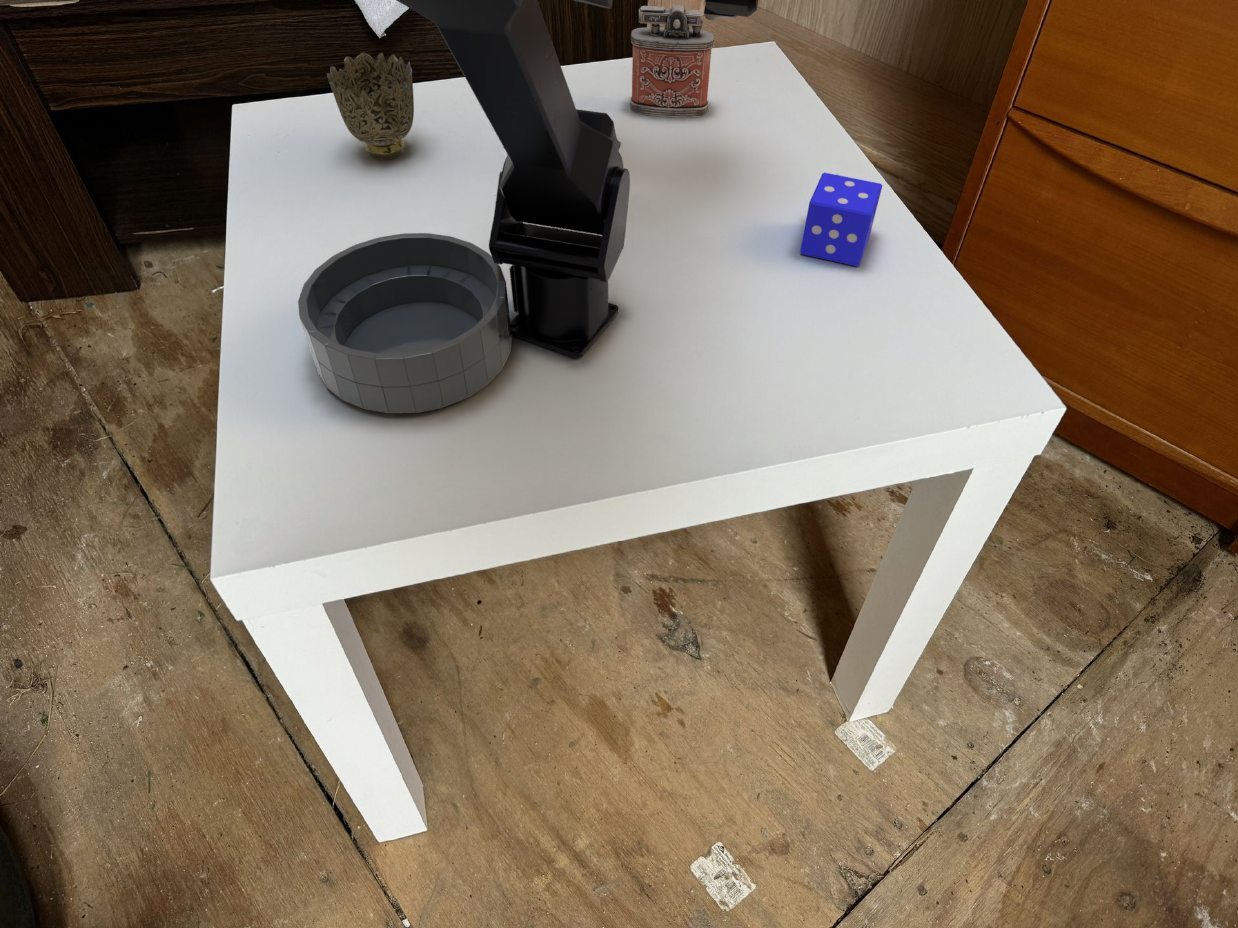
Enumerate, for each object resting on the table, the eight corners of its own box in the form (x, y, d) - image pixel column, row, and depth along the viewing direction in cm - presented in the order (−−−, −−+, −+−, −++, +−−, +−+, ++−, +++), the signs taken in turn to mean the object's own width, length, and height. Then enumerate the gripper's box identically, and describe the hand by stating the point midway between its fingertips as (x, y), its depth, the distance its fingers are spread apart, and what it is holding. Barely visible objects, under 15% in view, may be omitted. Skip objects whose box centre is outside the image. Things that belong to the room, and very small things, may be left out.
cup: (390, 181, 81) (373, 96, 75) (330, 160, 84) (309, 76, 78) (440, 145, 86) (428, 63, 80) (382, 126, 88) (365, 45, 82)
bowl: (547, 326, 68) (543, 266, 63) (437, 445, 59) (424, 385, 55) (398, 273, 72) (385, 214, 68) (276, 377, 64) (253, 317, 59)
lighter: (708, 103, 92) (717, 2, 84) (707, 119, 90) (716, 16, 82) (631, 99, 92) (633, -2, 85) (628, 115, 90) (630, 12, 83)
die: (858, 268, 73) (871, 214, 69) (799, 254, 74) (809, 202, 70) (869, 235, 76) (883, 183, 72) (812, 223, 77) (822, 171, 73)
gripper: (784, -202, 61) (783, -75, 76) (527, -220, 64) (576, -95, 79) (751, -36, 62) (757, 56, 77) (499, -62, 65) (553, 31, 80)
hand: (660, 8), depth 78 cm, fingers open, 9 cm apart
